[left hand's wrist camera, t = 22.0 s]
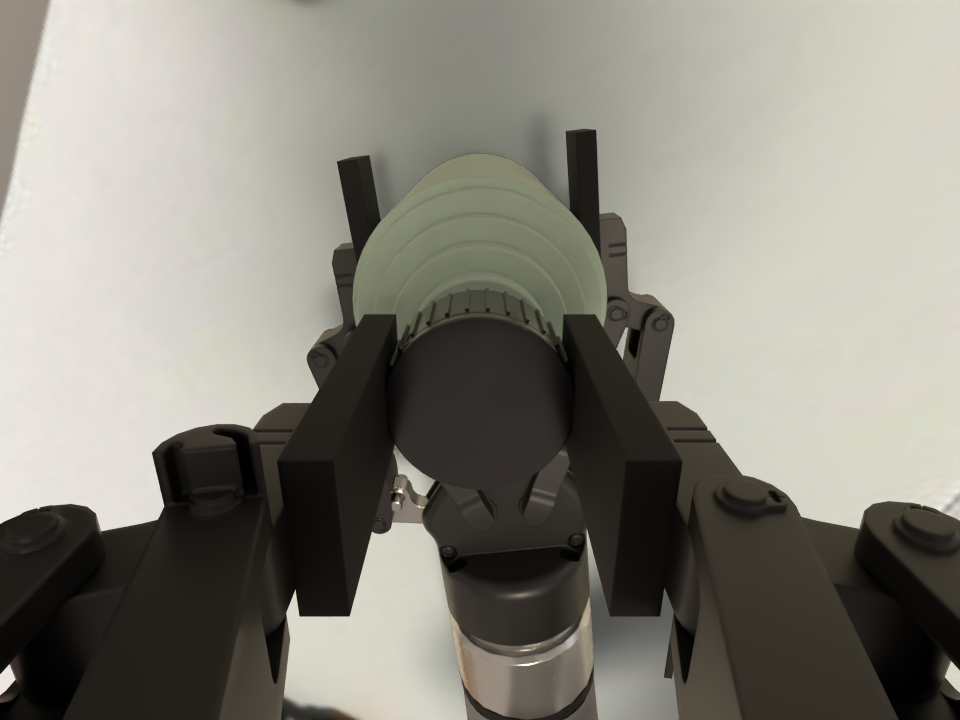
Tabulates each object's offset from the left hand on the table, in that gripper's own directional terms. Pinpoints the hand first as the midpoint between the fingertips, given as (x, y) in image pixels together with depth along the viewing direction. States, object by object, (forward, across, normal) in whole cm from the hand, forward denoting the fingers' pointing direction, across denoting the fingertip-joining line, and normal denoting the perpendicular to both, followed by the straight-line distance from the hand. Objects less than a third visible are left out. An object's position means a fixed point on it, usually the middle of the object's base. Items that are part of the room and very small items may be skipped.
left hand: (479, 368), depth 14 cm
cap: (-2, 0, 0) cm, 2 cm away
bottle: (+18, 0, 0) cm, 18 cm away
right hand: (+11, 0, -5) cm, 12 cm away
